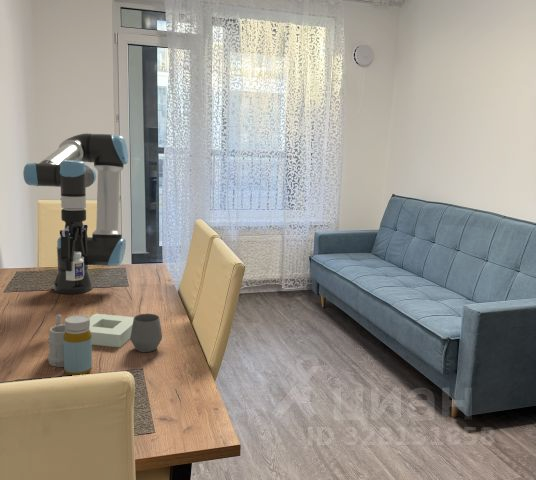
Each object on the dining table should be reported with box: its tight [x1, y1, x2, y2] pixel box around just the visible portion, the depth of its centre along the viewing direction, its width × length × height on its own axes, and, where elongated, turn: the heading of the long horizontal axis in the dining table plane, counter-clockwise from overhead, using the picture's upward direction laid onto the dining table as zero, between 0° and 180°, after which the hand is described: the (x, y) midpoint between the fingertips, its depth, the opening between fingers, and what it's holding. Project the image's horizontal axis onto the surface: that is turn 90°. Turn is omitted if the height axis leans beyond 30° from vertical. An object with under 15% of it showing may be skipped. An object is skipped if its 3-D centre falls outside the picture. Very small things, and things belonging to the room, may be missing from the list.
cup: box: [129, 313, 163, 353], centre depth 152 cm, size 10×9×10 cm
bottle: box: [63, 314, 93, 376], centre depth 135 cm, size 7×7×15 cm
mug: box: [47, 313, 65, 368], centre depth 142 cm, size 8×12×12 cm, turn 29°
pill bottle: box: [73, 252, 84, 280], centre depth 166 cm, size 5×5×9 cm
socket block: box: [89, 313, 135, 348], centre depth 162 cm, size 16×16×4 cm
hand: (75, 277), depth 167 cm, fingers closed on pill bottle, 5 cm apart
